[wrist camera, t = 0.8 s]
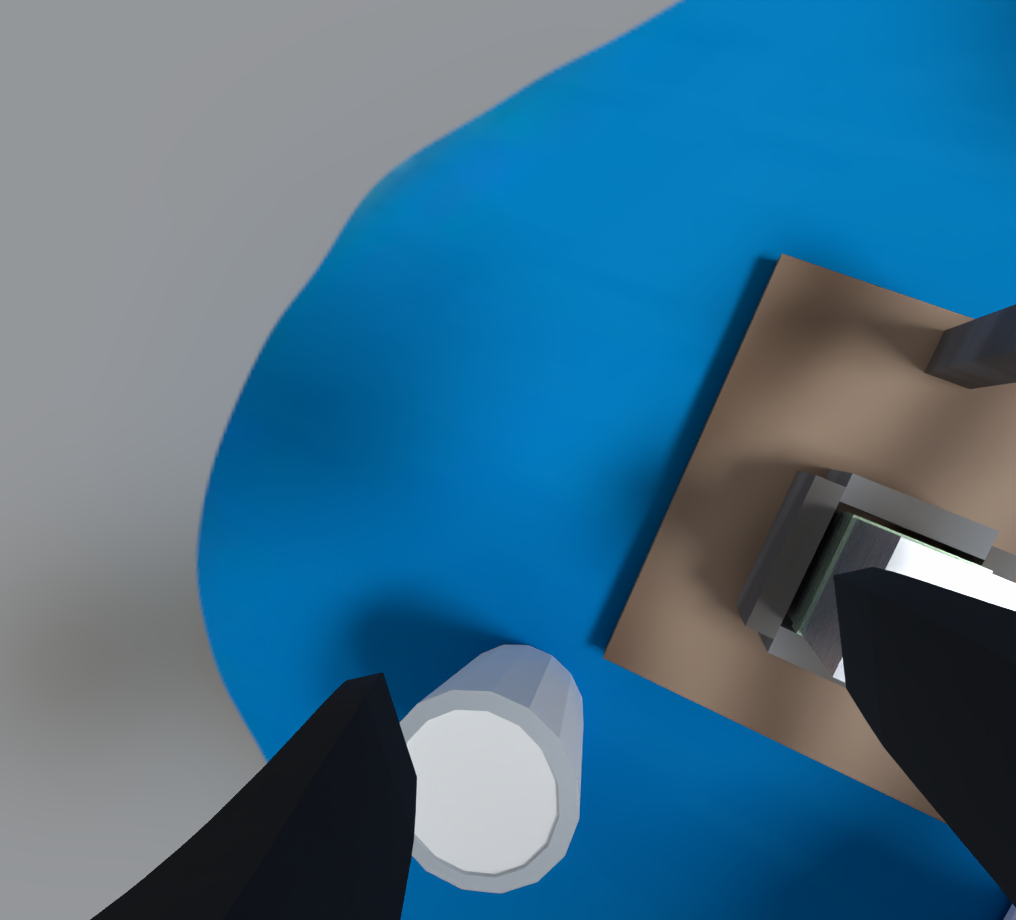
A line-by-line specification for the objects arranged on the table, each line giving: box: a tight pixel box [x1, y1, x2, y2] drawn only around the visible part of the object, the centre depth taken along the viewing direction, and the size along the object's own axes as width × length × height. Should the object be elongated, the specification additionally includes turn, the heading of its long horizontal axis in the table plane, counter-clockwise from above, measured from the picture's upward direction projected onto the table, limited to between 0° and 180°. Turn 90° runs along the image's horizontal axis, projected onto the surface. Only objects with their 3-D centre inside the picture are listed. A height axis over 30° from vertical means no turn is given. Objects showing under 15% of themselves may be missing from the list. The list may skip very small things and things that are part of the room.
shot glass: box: [400, 644, 583, 894], centre depth 25 cm, size 7×7×7 cm
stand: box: [603, 254, 1016, 824], centre depth 21 cm, size 14×17×9 cm
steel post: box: [787, 510, 1016, 682], centre depth 21 cm, size 4×4×8 cm
